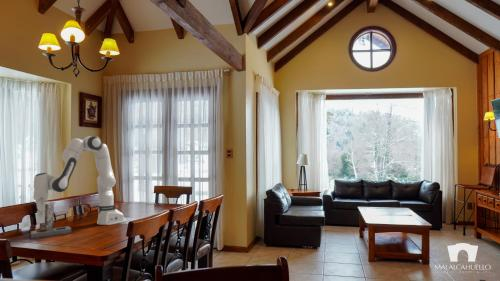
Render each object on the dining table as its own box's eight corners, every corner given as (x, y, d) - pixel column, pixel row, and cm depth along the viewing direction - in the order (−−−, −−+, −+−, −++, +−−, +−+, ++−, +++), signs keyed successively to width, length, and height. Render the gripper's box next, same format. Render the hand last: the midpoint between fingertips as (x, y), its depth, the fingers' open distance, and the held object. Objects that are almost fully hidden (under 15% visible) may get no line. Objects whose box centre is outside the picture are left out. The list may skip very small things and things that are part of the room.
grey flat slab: (69, 230, 258) (69, 225, 258) (71, 232, 250) (71, 228, 250) (30, 235, 244) (30, 230, 244) (31, 238, 236) (31, 233, 236)
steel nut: (44, 221, 247) (44, 210, 247) (44, 222, 243) (44, 211, 243) (36, 222, 244) (36, 210, 244) (37, 223, 240) (37, 211, 241)
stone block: (49, 230, 257) (49, 203, 258) (38, 231, 256) (38, 204, 256) (54, 226, 270) (54, 200, 270) (44, 227, 269) (44, 201, 269)
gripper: (47, 197, 237) (47, 218, 237) (44, 194, 254) (44, 213, 254) (36, 198, 234) (36, 219, 233) (34, 195, 251) (34, 214, 250)
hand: (40, 216), depth 244 cm, fingers closed on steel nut, 4 cm apart
